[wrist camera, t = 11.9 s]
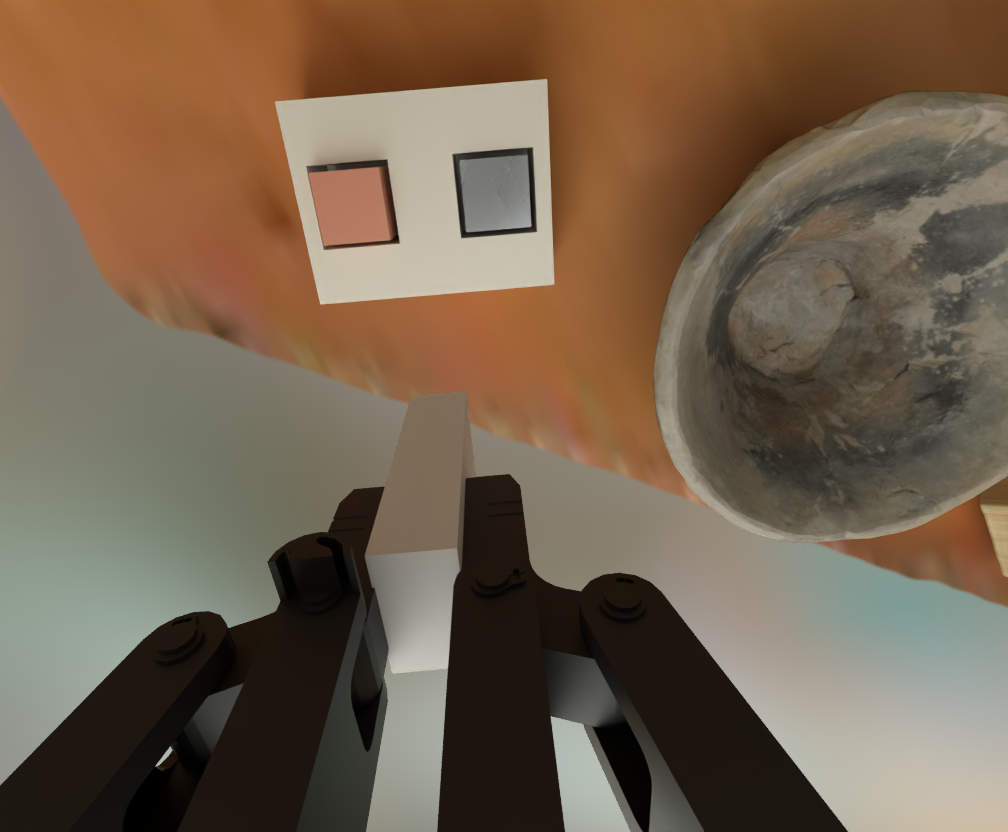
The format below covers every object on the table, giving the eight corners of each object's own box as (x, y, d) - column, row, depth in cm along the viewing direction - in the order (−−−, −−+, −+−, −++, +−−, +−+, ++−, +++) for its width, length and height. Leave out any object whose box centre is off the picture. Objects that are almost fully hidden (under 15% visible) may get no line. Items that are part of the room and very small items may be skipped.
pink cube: (327, 171, 36) (308, 173, 32) (389, 166, 36) (378, 167, 32) (340, 236, 38) (323, 245, 34) (399, 232, 38) (390, 240, 34)
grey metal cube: (461, 160, 37) (459, 160, 33) (522, 155, 37) (527, 154, 33) (467, 225, 39) (466, 232, 35) (525, 220, 39) (531, 226, 35)
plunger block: (304, 110, 37) (274, 101, 31) (537, 91, 37) (547, 79, 31) (340, 286, 42) (320, 304, 37) (544, 268, 42) (554, 284, 37)
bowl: (602, 131, 38) (670, 114, 25) (973, 93, 38) (1245, 55, 25) (606, 458, 50) (653, 568, 36) (891, 429, 50) (1045, 529, 36)
